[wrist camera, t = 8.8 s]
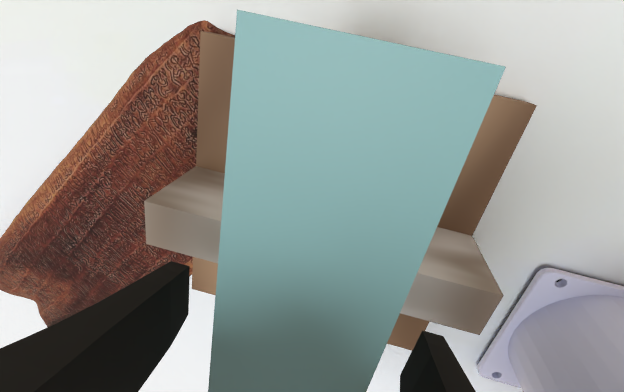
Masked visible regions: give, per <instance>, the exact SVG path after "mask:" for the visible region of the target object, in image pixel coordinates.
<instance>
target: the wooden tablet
mask: <svg viewBox="0 0 624 392" xmlns="http://www.w3.org/2000/svg"><path fill="white" fill-rule="evenodd" d="M201 31H203V32H213V33H217V34H222V35H226V36H231V37H235V35H232V34H230V33H227V32H225V31H223V30H221V29H219V28H217V27H216V26H214V25H213V24H211V23H210V22H208V21H199V22H197V23H194V24H192V25H189V26H188V27H187V28H185V29H184V30H183V31H182V32H180V33H179V34H177V35H175V36H174V37H173V38H171V39H170V40H169V41H168V42H166V43H164V44H163V45H162V46H161V47H160V48H159V49H157V50H156V51H155V52H153V53H152V54H150V55H149V56H148V57H147V58H146V59H145V60H144V61H143V62H142V63H141V64H140V65H139V66H138V68H137V69H135V70H134V71H133V73H132V74H131V75H130V76H129V78H128V80H127V81H126V83H125V84H124V85H123V86H122V87H121V89H120V90H119V91H118V93H117V94H116V95H115V97H114V98H113V100H112V101H111V102H110V103H109V105H108V106H107V107H106V108H105V109H104V111H103V112H102V113H101V115H100V116H99V117H98V118H97V119H96V121H95V122H94V123H93V124H92V125H91V127H90V128H89V129H88V130H87V132H86V133H85V134H84V136H83V137H82V138H81V139H80V140H79V141H78V142H77V144H76V145H75V146H74V147H73V149H72V150H71V151H70V152H69V154H68V155H67V156H66V157H65V158H64V159H63V160H62V161H61V162H60V164H59V165H58V166H57V167H56V168H55V169H54V171H53V172H52V173H51V175H50V176H49V177H48V178H47V179H46V180H45V181H44V183H43V184H42V185H41V186H40V188H39V189H38V190H37V191H36V193H35V194H34V195H33V196H32V197H31V198H30V200H29V201H28V202H27V203H26V205H25V206H24V207H23V209H22V210H21V211H20V213H19V214H18V215H17V216H16V217H15V219H14V220H13V222H12V223H11V225H10V226H9V228H8V229H7V230H6V232H5V233H4V234H3V235H2V237H1V238H0V290H2V291H4V292H7V293H9V294H12V295H16V296H21V297H24V298H28V299H31V300H34V301H35V302H36V303H37V306H38V309H39V313H40V316H41V317H42V319H43V320H44V322H45V324H46V325H47V327H50V326H52V325H54V324H56V323H58V322H60V321H62V320H64V319H66V318H68V317H70V316H72V315H74V314H76V313H78V312H80V311H82V310H84V309H86V308H88V307H90V306H92V305H94V304H95V303H97V302H99V301H101V300H103V299H105V298H106V297H108V296H110V295H112V294H114V293H115V292H117V291H119V290H121V289H123V288H125V287H126V286H128V285H130V284H132V283H133V282H135V281H137V280H139V279H140V278H142V277H144V276H146V275H147V274H149V273H151V272H152V271H154V270H156V269H158V268H160V267H161V266H163V265H165V264H167V263H169V262H170V261H173V262H176V263H180V264H183V265H187V266H190V269H189V276H190V275H192V273H193V257H192V256H189V255H185V254H181V253H178V252H174V251H170V250H167V249H163V248H159V247H156V246H152V245H148V244H146V228H145V206H144V201H145V200H147V199H148V198H150V197H151V196H153V195H154V194H156V193H157V192H158V191H160V190H161V189H163V188H164V187H166V186H167V185H169V184H170V183H172V182H173V181H175V180H176V179H178V178H179V177H181V176H182V175H184V174H185V173H187V172H188V171H190V170H191V169H193V168H194V167H196V153H197V123H198V94H199V64H200V34H201Z"/></svg>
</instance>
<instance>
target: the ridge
mask: <svg viewBox="0 0 624 392" xmlns="http://www.w3.org/2000/svg"><path fill="white" fill-rule="evenodd" d="M234 46H235V37H231V36H226V35H222V34H217V33H213V32H203V31H201V34H200V64H199V94H198V123H197V153H196V167H194V168H193V169H191V170H190V171H188V172H187V173H185V174H184V175H182V176H181V177H179V178H178V179H176V180H175V181H173V182H172V183H170V184H169V185H167V186H166V187H164V188H163V189H161V190H160V191H158V192H157V193H156V194H154V195H153V196H151V197H150V198H148V199H147V200H145V201H144V206H145V228H146V244H148V245H152V246H156V247H159V248H163V249H167V250H170V251H174V252H178V253H181V254H185V255H189V256H192V257H193V273H192V289H195V290H198V291H202V292H206V293H209V294H213V295H216V283H217V270H218V257H219V244H220V231H221V217H222V204H223V191H224V178H225V165H226V152H227V138H228V125H229V112H230V99H231V86H232V73H233V59H234ZM536 106H537V105H534V104H531V103H528V102H526V101H521V100H516V99H512V98H507V97H503V96H498V95H493V98H492V100H491V102H490V105H489V107H488V109H487V112H486V114H485V116H484V119H483V121H482V123H481V126H480V128H479V130H478V133H477V135H476V137H475V140H474V142H473V144H472V147H471V149H470V151H469V154H468V156H467V158H466V161H465V163H464V165H463V168H462V170H461V172H460V175H459V177H458V179H457V182H456V184H455V186H454V188H453V191H452V193H451V195H450V198H449V200H448V202H447V205H446V207H445V209H444V212H443V214H442V216H441V219H440V221H439V223H438V226H437V228H436V230H435V233H434V235H433V237H432V240H431V242H430V244H429V247H428V249H427V251H426V254H425V256H424V258H423V261H422V263H421V265H420V268H419V270H418V272H417V274H416V277H415V279H414V281H413V284H412V286H411V288H410V291H409V293H408V295H407V298H406V300H405V302H404V305H403V307H402V309H401V312H400V314H399V316H398V319H397V321H396V323H395V326H394V328H393V330H392V333H391V335H390V337H389V340H388V342H387V344H391V345H394V346H398V347H402V348H405V349H409V350H412V351H413V348H414V346H415V344H416V342H417V340H418V338H419V336H420V334H421V332H422V331H425V329H426V327H427V325H428V323H429V321H430V322H434V323H438V324H441V325H445V326H449V327H452V328H456V329H460V330H463V331H467V332H470V333H474V334H478V335H480V333H481V332H482V330H483V328H484V327H485V325H486V324H487V322H488V320H489V319H490V317H491V315H492V314H493V312H494V310H495V309H496V307H497V305H498V304H499V302H500V301H501V299H502V297H503V294H502V292H501V290H500V288H499V286H498V284H497V282H496V281H495V279H494V277H493V275H492V273H491V271H490V269H489V267H488V265H487V263H486V262H485V260H484V258H483V256H482V254H481V252H480V250H479V248H478V246H477V244H476V243H475V241H474V239H473V237H472V235H473V233H474V231H475V229H476V227H477V225H478V223H479V221H480V219H481V217H482V215H483V213H484V211H485V209H486V207H487V205H488V202H489V200H490V198H491V196H492V194H493V192H494V190H495V188H496V186H497V184H498V182H499V180H500V178H501V176H502V174H503V172H504V170H505V168H506V166H507V164H508V162H509V160H510V158H511V156H512V154H513V152H514V150H515V148H516V146H517V144H518V142H519V140H520V138H521V136H522V134H523V132H524V130H525V128H526V126H527V124H528V122H529V120H530V118H531V116H532V114H533V112H534V110H535V108H536Z"/></svg>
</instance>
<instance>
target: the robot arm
mask: <svg viewBox="0 0 624 392" xmlns="http://www.w3.org/2000/svg"><path fill="white" fill-rule="evenodd" d="M189 269H190V266H187V265H183V264H180V263H176V262H173V261H170V262H169V263H167V264H165V265H163V266H161V267H160V268H158V269H156V270H154V271H152V272H151V273H149V274H147V275H146V276H144V277H142V278H140V279H139V280H137V281H135V282H133V283H132V284H130V285H128V286H126V287H125V288H123V289H121V290H119V291H117V292H115V293H114V294H112V295H110V296H108V297H106V298H105V299H103V300H101V301H99V302H97V303H95V304H94V305H92V306H90V307H88V308H86V309H84V310H82V311H80V312H78V313H76V314H74V315H72V316H70V317H68V318H66V319H64V320H62V321H60V322H58V323H56V324H54V325H52V326H50V327H48V328H46V329H44V330H41V331H39V332H37V333H35V334H33V335H30V336H28V337H26V338H24V339H21V340H19V341H17V342H14V343H12V344H10V345H7V346H5V347H3V348H0V392H138V391H139V390H140V388H141V387H142V385H143V384H144V383H145V381H146V380H147V379H148V377H149V376H150V374H151V373H152V372H153V370H154V369H155V367H156V366H157V364H158V363H159V362H160V360H161V359H162V357H163V356H164V355H165V353H166V352H167V350H168V349H169V347H170V346H171V344H172V343H173V341H174V339H175V337H176V336H177V334H178V332H179V330H180V328H181V327H182V325H183V323H184V321H185V319H186V317H187V316H188V304H189ZM559 279H562V280H561V281H559V282H556V281H557V280H559ZM477 369H478V372H479V375H481V376H482V377H484V378H488V379H491V380H495V381H499V382H502V383H506V384H509V385H513V386H516V387H520V388H522V390H523V392H624V286H621V285H617V284H613V283H609V282H605V281H601V280H597V279H593V278H589V277H585V276H581V275H577V274H573V273H570V272H566V271H562V270H558V269H554V268H543V269H541V270H539V271H538V272H537V273H536V275H535V277H534V278H533V280H532V281H531V283H530V284H529V286H528V287H527V289H526V290H525V292H524V294H523V295H522V297H521V298H520V300H519V301H518V303H517V304H516V306H515V308H514V309H513V311H512V312H511V314H510V315H509V317H508V318H507V320H506V322H505V323H504V325H503V326H502V328H501V329H500V331H499V332H498V334H497V336H496V337H495V339H494V340H493V342H492V343H491V345H490V346H489V348H488V349H487V351H486V353H485V354H484V356H483V357H482V359H481V360H480V362H479V363H478V365H477ZM400 392H475V390H474V388H473V387H472V385H471V383H470V381H469V380H468V378H467V376H466V375H465V373H464V371H463V369H462V368H461V366H460V364H459V363H458V361H457V359H456V357H455V356H454V354H453V352H452V350H451V349H450V347H449V345H448V344H447V342H446V340H445V338H444V337H443V336H440V335H437V334H433V333H429V332H426V331H422V332H421V334H420V336H419V338H418V340H417V342H416V344H415V346H414V348H413V351H412V353H411V355H410V357H409V359H408V361H407V363H406V365H405V367H404V369H403V371H402V373H401V375H400Z"/></svg>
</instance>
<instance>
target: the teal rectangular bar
mask: <svg viewBox="0 0 624 392" xmlns="http://www.w3.org/2000/svg"><path fill="white" fill-rule="evenodd" d="M505 68H506V67H505V66H500V65H495V64H490V63H486V62H481V61H476V60H472V59H467V58H462V57H457V56H453V55H448V54H443V53H439V52H434V51H429V50H425V49H420V48H415V47H410V46H406V45H401V44H396V43H392V42H387V41H382V40H378V39H373V38H368V37H363V36H359V35H354V34H349V33H345V32H340V31H335V30H330V29H326V28H321V27H316V26H312V25H307V24H302V23H298V22H293V21H288V20H283V19H279V18H274V17H269V16H265V15H260V14H255V13H250V12H246V11H241V10H237V20H236V33H235V46H234V59H233V73H232V86H231V99H230V112H229V125H228V138H227V152H226V165H225V178H224V191H223V204H222V217H221V231H220V244H219V257H218V270H217V283H216V297H215V310H214V323H213V336H212V349H211V362H210V376H209V389H208V392H366V391H367V388H368V386H369V384H370V381H371V379H372V377H373V374H374V372H375V370H376V367H377V365H378V363H379V361H380V358H381V356H382V354H383V351H384V349H385V347H386V344H387V342H388V340H389V337H390V335H391V333H392V330H393V328H394V326H395V323H396V321H397V319H398V316H399V314H400V312H401V309H402V307H403V305H404V302H405V300H406V298H407V295H408V293H409V291H410V288H411V286H412V284H413V281H414V279H415V277H416V274H417V272H418V270H419V268H420V265H421V263H422V261H423V258H424V256H425V254H426V251H427V249H428V247H429V244H430V242H431V240H432V237H433V235H434V233H435V230H436V228H437V226H438V223H439V221H440V219H441V216H442V214H443V212H444V209H445V207H446V205H447V202H448V200H449V198H450V195H451V193H452V191H453V188H454V186H455V184H456V182H457V179H458V177H459V175H460V172H461V170H462V168H463V165H464V163H465V161H466V158H467V156H468V154H469V151H470V149H471V147H472V144H473V142H474V140H475V137H476V135H477V133H478V130H479V128H480V126H481V123H482V121H483V119H484V116H485V114H486V112H487V109H488V107H489V105H490V102H491V100H492V98H493V95H494V93H495V91H496V89H497V86H498V84H499V82H500V79H501V77H502V75H503V72H504V70H505Z"/></svg>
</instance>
